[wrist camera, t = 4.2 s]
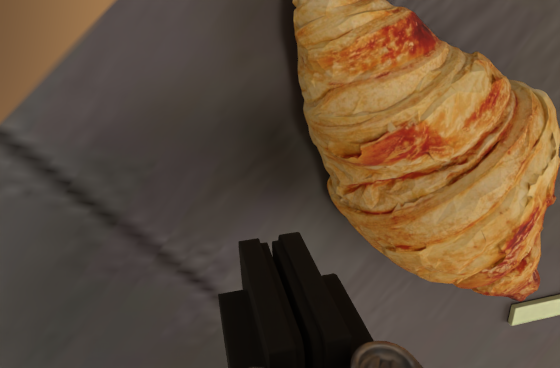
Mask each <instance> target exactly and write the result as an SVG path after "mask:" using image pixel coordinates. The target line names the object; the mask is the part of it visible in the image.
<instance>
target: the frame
mask: <svg viewBox="0 0 560 368" xmlns="http://www.w3.org/2000/svg"><path fill="white" fill-rule="evenodd" d="M556 315H560V294H559V295H555V296H550V297H545V298H541V299H536V300H532V301H527V302H522V303H518V304H513V305H512V306H511V310H510V315H509V319H508V323H509V324H510V325H511V326H513V325H517V324H521V323H526V322H530V321H535V320H539V319H543V318H548V317H552V316H556Z"/></svg>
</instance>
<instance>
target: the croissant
mask: <svg viewBox="0 0 560 368" xmlns="http://www.w3.org/2000/svg"><path fill="white" fill-rule="evenodd" d="M292 3H293V4H294V6H295V7H296V9H295V10H294V18H293V21H294V29H295V38H296V42H297V48H298V78H299V84H300V87H301V90H302V95H303V97H304V106H303V111H304V115H305V118H306V121H307V124H308V126H309V134H310V137H311V139H312V142H313V144H315V145H316V146H317V148H318V150H319V152H320V155H321V157H322V160H323V164H324V167H325V169H326V170H327V172H328V173H329V174H330V177H329V179H328V182H327V188H328V190H329V195H330V197H331V200H332V201H333V203H334V204H335V206H336V207H337V208H338V210H339V211H340V212H341V213H342V214H343V215H344V216H345V217H347V219H348V221H349V222H350V223H351V225H352V226H353V227H354V228H355V229H356V230H357V231H358V232H359V233H360V234H361V235H362V236H363V237H364V238H365V239H366V240H367V241H368V242H369V243H370V244H371V245H372V246H373V247H374V248H376V249H377V250H378V251H380V252H381V253H383V254H384V255H385V256H387V257H388V258H389V259H390V260H391V261H392V262H394V263H395V264H397V265H398V266H400V267H401V268H403V269H405V270H407V271H409V272H411V273H414V274H416V275H418V276H419V277H421V278H423V279H426V280H428V281H431V282H440V283H448V284H449V283H452V284H454V285H455V286H457V287H459V288H466V289H472V290H473V291H475V292H477V293H480V294H483V295H490V296H504V297H509V298H511V299H513V300H517V301H520V302H522V301H523V300H524V299H525V298H526V297H527V296H529V295H530V294H532V293H533V292H535V291H537V290H538V287H539V283H540V277H539V273H538V271H537V270H536V269H537V265H538V262H539V259H540V256H541V242H540V232H541V231H542V230H543V227H542V224H543V220H544V215H545V211H546V209H547V207H548V206H550V205H552V204H553V203H554V202H555V200H556V197H555V196H554V189H555V187H554V184H555V181H556V177H557V173H558V169H559V164H560V158H559V157H558V154H559V144H560V130H559V126H558V122H557V117H556V109H555V107H554V105H553V103H552V101H551V99H550V98H549V97H548V95H547V94H546V93H545V92H544V91H541V90H536V89H533V88H531V87H529V86H528V85H526V84H525V83H523V82H520V81H514V80H509V79H507V78H506V76H503V75H502V74H501V73H500V71H499V70H498V69H497V68H496V67H495V66H494V65H493V64H492V63H491V62H490V60H489V59H487V58H486V57H485V56H483V55H482V54H480V53H479V52H476V51H475V52H474V53H472V54H469V53H465V52H462V51H461V50H460V49H459V48H456V47H453V46H451V45H449V44H447V43H446V42H443V41H441V40H439V39H438V38H437V37H436V36H435V35H434V34H433V33H432V32H431V30H430V29H429V28H428V27H427V26H426V25H425V24H424V23H423V22H422V21H421V19H420V18H419V17H418V16H417V15H416V14H415V13H414V12H413V11H411V10H409V9H407V8H405V7H395V6H393V5H391V4H390V3H389V2H387V1H386V0H293V1H292Z"/></svg>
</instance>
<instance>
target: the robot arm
mask: <svg viewBox="0 0 560 368" xmlns="http://www.w3.org/2000/svg"><path fill="white" fill-rule="evenodd" d="M272 253H273V257H272V254H271V252H270V249H269V246H268V244H267V242H266V243H260V241H259V239H258V238H257V239H251V240H245V241H239V254H240V265H241V275H242V286H243V290H239V291H234V292H228V293H223V294H218V297H219V305H220V313H221V321H222V328H223V335H224V342H225V349H226V355H227V362H228V368H423V367H422V366H421V365H420V364H419V362H418V361H417V360H416V359H415V358H414V357H413V355H411V354H410V353H409V352H408V351H407V350H406V349H404V348H402V347H401V346H399V345H397V344H394V343H390V342H387V341H373V339H372V337H371V335H370V334H369V332H368V330H367V328H366V326H365V325H364V323H363V321H362V319H361V317H360V316H359V314H358V312H357V310H356V308H355V307H354V305H353V303H352V301H351V299H350V298H349V296H348V294H347V292H346V290H345V289H344V287H343V285H342V283H341V281H340V280H339V278H338V277H337V275H336V274H329V275H323V276H321V274H320V272H319V270H318V268H317V267H316V265H315V263H314V261H313V259H312V257H311V255H310V253H309V251H308V249H307V247H306V245H305V243H304V241H303V239H302V237H301V235H300V233H299V232H295V233H289V234H283V235H279V238H278V241H273V242H272Z"/></svg>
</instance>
